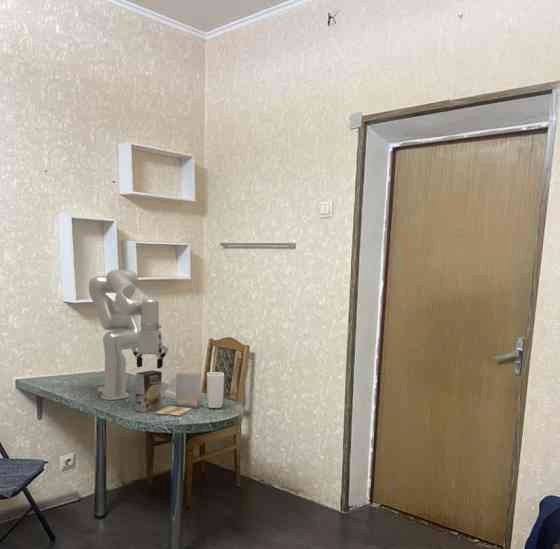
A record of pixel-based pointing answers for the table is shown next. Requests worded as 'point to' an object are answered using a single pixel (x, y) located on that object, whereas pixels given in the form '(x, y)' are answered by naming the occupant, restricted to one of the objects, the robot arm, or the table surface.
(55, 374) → the table surface
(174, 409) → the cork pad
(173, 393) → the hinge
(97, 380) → the table surface
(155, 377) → the coffee box
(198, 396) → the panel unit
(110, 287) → the robot arm
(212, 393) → the cup
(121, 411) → the table surface
